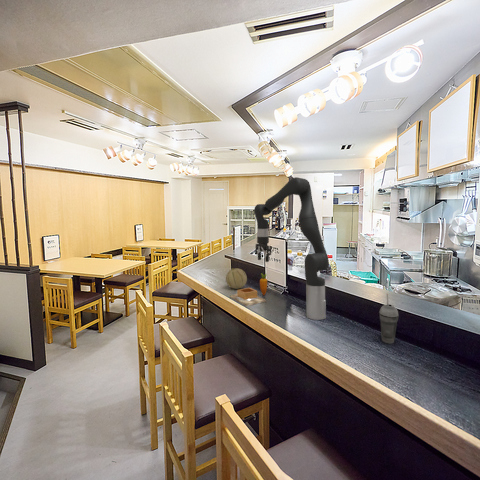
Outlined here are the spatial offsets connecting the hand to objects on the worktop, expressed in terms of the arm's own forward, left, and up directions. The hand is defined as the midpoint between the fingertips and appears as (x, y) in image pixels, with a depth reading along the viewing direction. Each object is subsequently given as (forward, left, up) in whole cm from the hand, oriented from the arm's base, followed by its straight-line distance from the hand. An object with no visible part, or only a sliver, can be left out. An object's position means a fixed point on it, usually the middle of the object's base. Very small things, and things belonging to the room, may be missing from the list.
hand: (263, 260), depth 179 cm
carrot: (0, 0, -23) cm, 23 cm away
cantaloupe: (+20, -16, -23) cm, 35 cm away
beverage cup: (-54, +59, -23) cm, 83 cm away
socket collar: (+10, +8, -22) cm, 25 cm away
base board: (+10, +8, -23) cm, 26 cm away
